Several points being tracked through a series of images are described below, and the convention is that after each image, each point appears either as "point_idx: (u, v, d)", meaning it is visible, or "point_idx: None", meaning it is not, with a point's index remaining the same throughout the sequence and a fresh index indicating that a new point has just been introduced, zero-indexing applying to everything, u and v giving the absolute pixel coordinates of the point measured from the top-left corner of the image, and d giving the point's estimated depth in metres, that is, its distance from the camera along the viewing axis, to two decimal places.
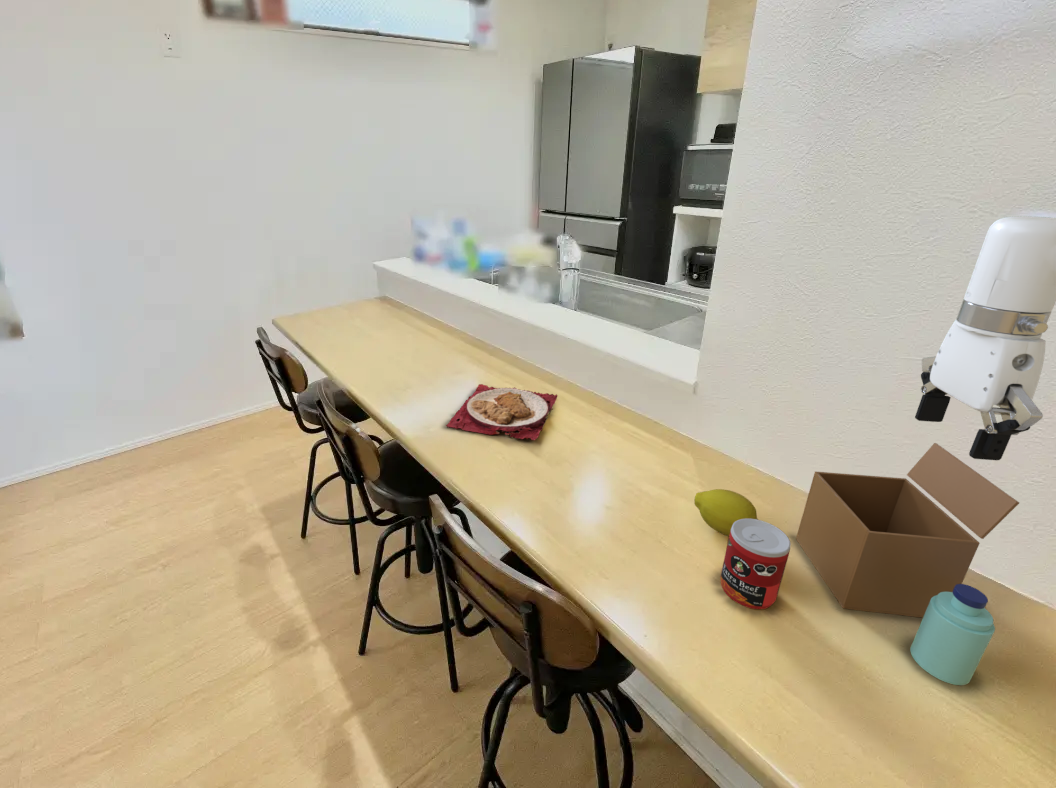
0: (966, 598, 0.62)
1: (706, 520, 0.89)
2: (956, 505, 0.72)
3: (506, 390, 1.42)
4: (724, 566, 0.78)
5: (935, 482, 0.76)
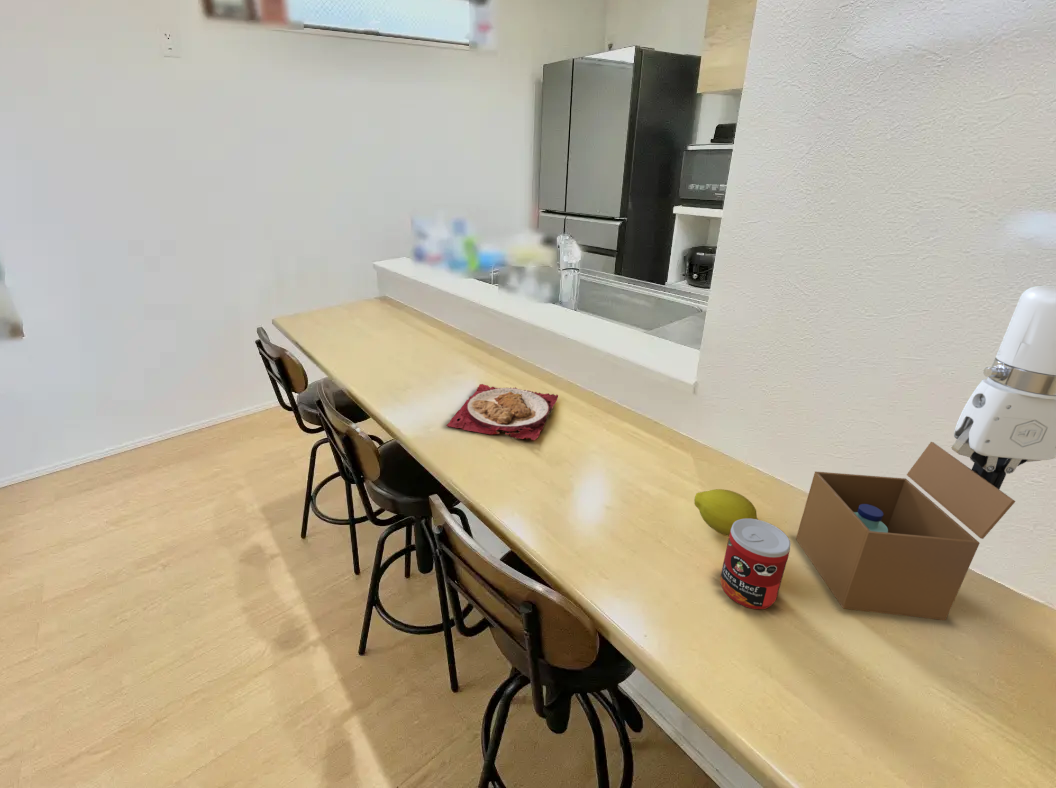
0: (866, 513, 0.76)
1: (706, 520, 0.89)
2: (955, 505, 0.72)
3: (507, 390, 1.42)
4: (724, 566, 0.78)
5: (934, 482, 0.76)
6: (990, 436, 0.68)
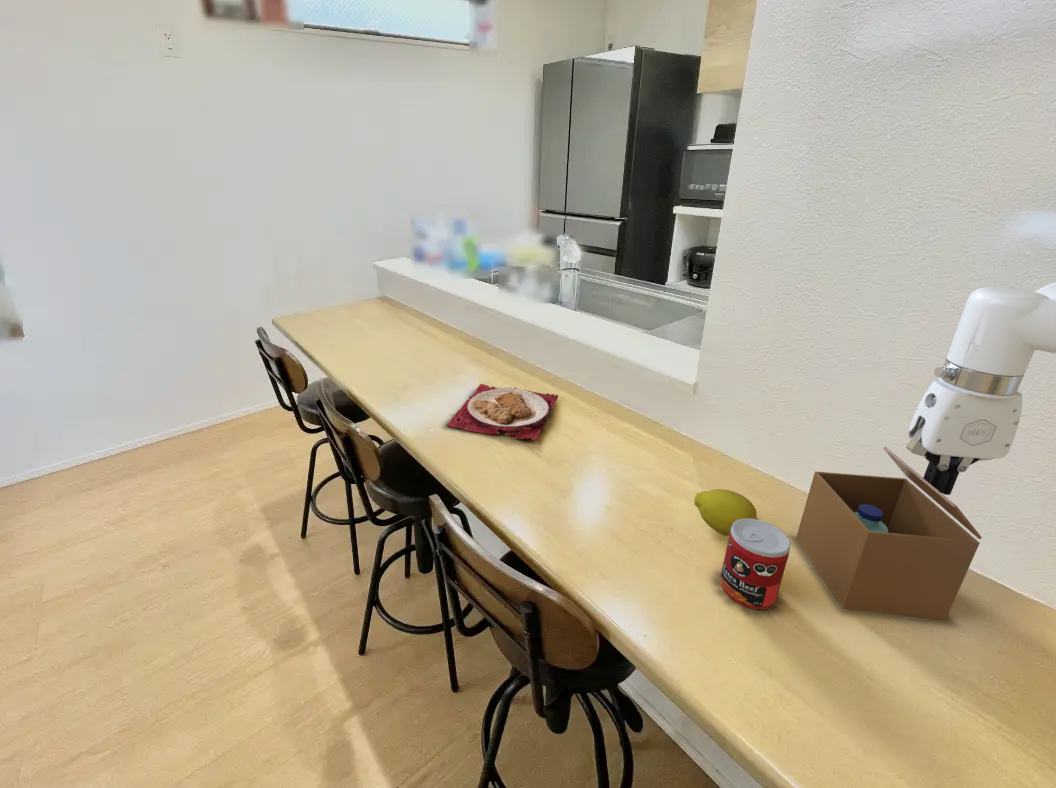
0: (866, 513, 0.76)
1: (706, 520, 0.89)
2: (944, 507, 0.73)
3: (507, 390, 1.42)
4: (724, 566, 0.78)
5: (919, 484, 0.77)
6: (941, 435, 0.69)
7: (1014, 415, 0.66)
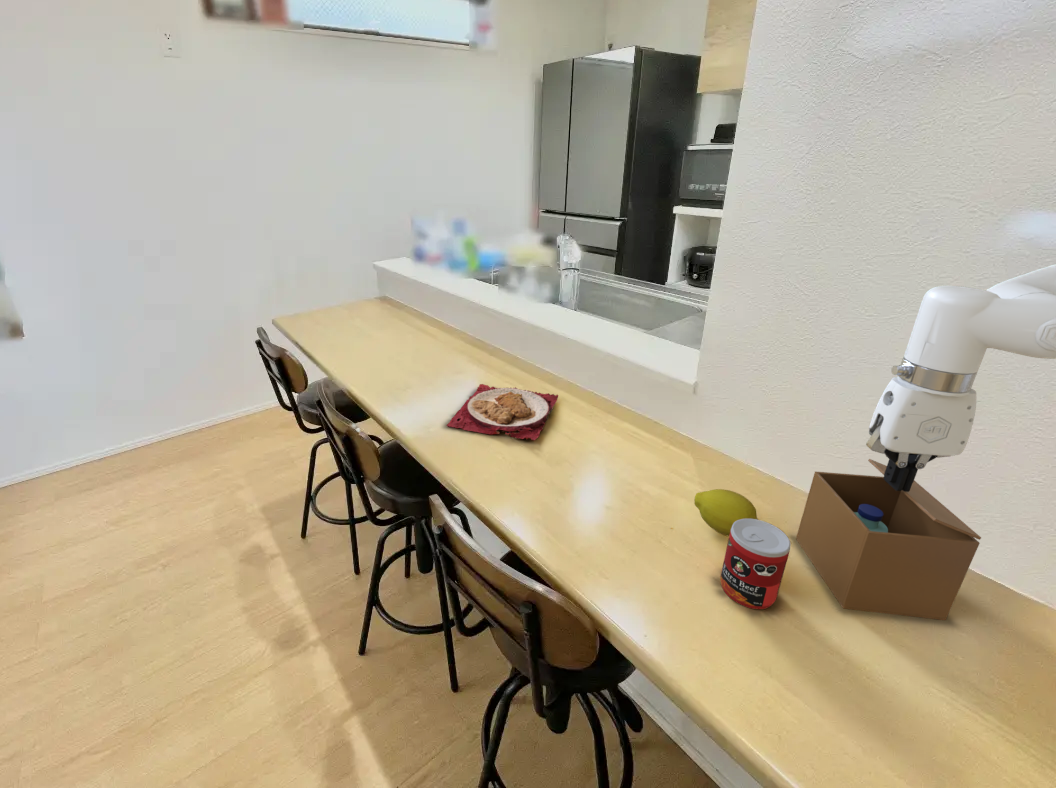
0: (866, 513, 0.76)
1: (706, 520, 0.89)
2: None
3: (507, 390, 1.42)
4: (724, 566, 0.78)
5: None
6: (898, 433, 0.69)
7: (968, 412, 0.67)
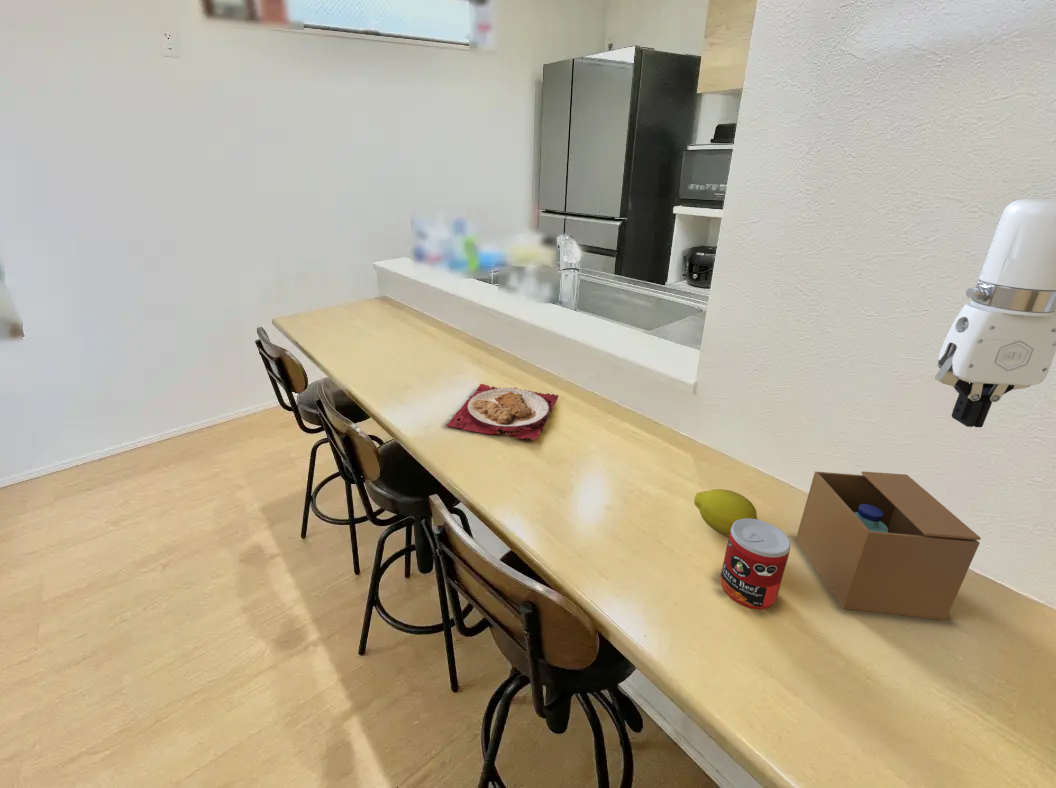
0: (866, 513, 0.76)
1: (706, 520, 0.89)
2: None
3: (507, 390, 1.42)
4: (724, 566, 0.78)
5: None
6: (974, 360, 0.65)
7: (1052, 335, 0.62)
